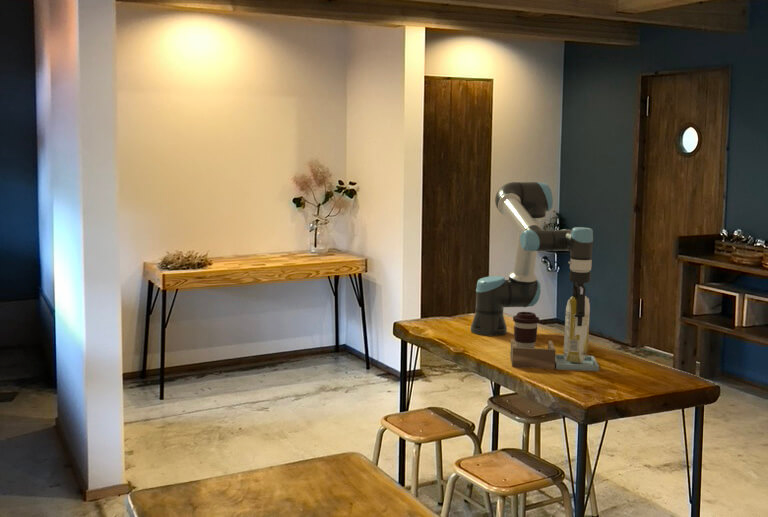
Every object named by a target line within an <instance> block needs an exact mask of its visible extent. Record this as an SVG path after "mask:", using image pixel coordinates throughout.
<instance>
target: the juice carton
mask: <svg viewBox="0 0 768 517" xmlns="http://www.w3.org/2000/svg"><path fill="white" fill-rule="evenodd" d="M590 314H591V304H590V298H589V297H587V296H586V295H585V316H584V320H583V335H575V319H576V317H574V315H576V299H575V297H573V295H572V296H570V298H569V299H568V300H567V303H566V306H565V318H564V338H563V355H564V359H565V361H567V362H576V363H583V361H584V359H585V357H586V356H587V354H588V350H589V349H588V347H589V341H588V340H589V333H590V331H589V330H590Z"/></svg>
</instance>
